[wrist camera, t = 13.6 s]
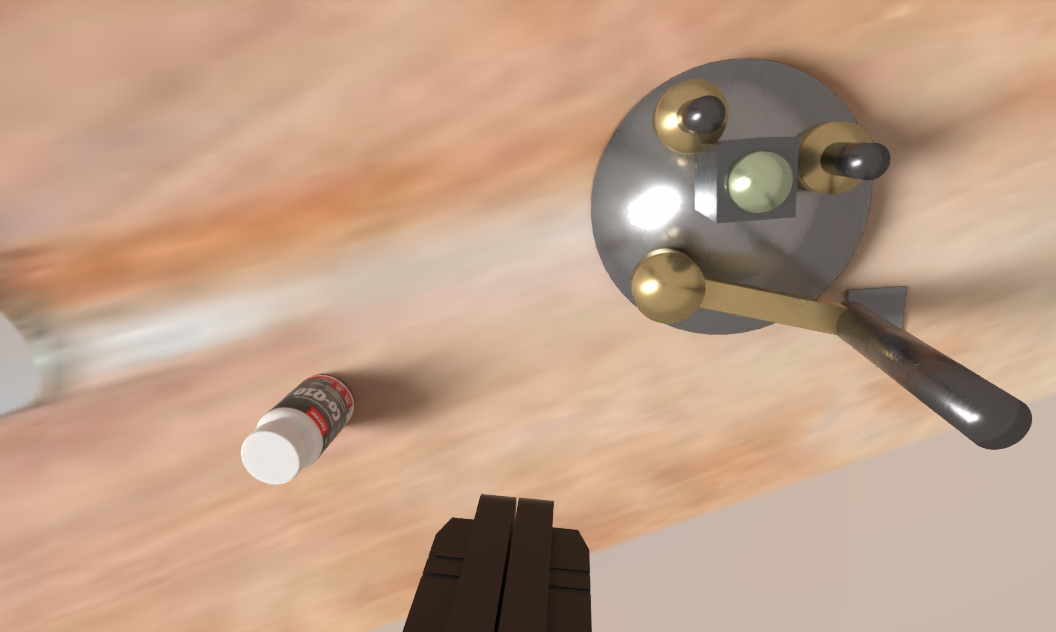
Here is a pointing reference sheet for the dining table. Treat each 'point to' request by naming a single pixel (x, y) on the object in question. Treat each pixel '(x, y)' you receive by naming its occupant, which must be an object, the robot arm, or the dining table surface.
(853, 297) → the plate
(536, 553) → the robot arm
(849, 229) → the tribrach plate
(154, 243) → the dining table surface
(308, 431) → the pill bottle
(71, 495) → the dining table surface
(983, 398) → the lever
